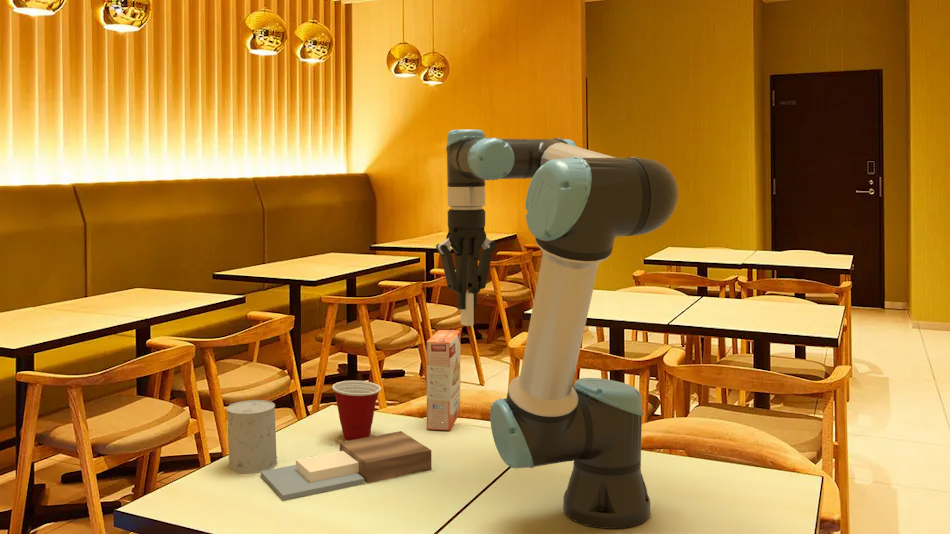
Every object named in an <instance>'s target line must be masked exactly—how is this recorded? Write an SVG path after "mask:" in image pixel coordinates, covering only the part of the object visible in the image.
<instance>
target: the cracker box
mask: <svg viewBox="0 0 950 534" xmlns="http://www.w3.org/2000/svg"><path fill="white" fill-rule="evenodd" d="M461 345H462V343H461V330H454V329H453V330H452V329H451V330H449V329H442V330H441V329H439V330H437V331H436V332H435V333H434V334H433V335H432V336H431V337H430V338H429V339H428V340H427V341H426V430H434V431H448V432H449V431H451V429H452V428H453V426H454V424H455V423H456V421H457V420H458V417H459V416H460V414H461ZM442 422H443V423H442Z"/></svg>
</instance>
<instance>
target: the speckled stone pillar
mask: <svg viewBox="0 0 950 534" xmlns="http://www.w3.org/2000/svg"><path fill="white" fill-rule="evenodd" d="M226 418H227V420H226V423H227V441H228V443H227V444H228V463H229V464H228V469H229V471H231V472H233V473H236V474H244V475H248V474H249V475H250V474H261V471H266V470H271V469H275V467H276V466H277V465H278V460H277V457H278V456H277V438H276V437H277V434H276V404H275V403H274V402H273V401H271V400H263V399H252V400H249V399H248V400H243V401H237V402H235V403H231V404H229V405H228V406H227V407H226Z"/></svg>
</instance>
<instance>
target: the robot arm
mask: <svg viewBox="0 0 950 534" xmlns="http://www.w3.org/2000/svg"><path fill="white" fill-rule="evenodd" d="M446 137H447V139H446V147H445V150H446V175H447V177H446V178H447V179H446V182H447V206H448V207H450V208H449V209H448V210H447V228H448V232H447V234H446V237H445V238H446V239H445V240H444V241H443V242H442V243H437V244H436V246H435V248H436V250H437V252H438V253H439V256H440V259H441V262H442V263H441V264H442V267H443V271H444V276H445V280H446V286H447V288H448V290H449V291H453V292H455V293H456V305H457V306H456V307H457V309H458V310H460V325H463V326H465V327H470V326H472V327H473V326H474V325H475V324H474V323H475V322H474V321H475V320H474V317H475V315H474V314H475V312H474V309H477V306H478V297H477V296H478V294H479V293H480V292H481V290H484V289H486V286H487V282H488V276H489V271H490V266H491V263H492V262H491V261H492V256H493V253H494V250H495V249H496V247H497V242H496V241H492V240H491V239H489V238H488V237H487V233H486V231H485V227H486V210H485V209H484V208H483V207H485V206H486V181H497V180H508V179H509V180H510V179H511V180H514V179H521V180H522V179H531V180H530V183H529V185H528V189H527V192H526V199H525V206H524V208H525V210H527V211H526V212H527V213H526V214H525V219H526V220H525V221H526V224H527V227H528V230H529V232H530V233H531V234H532V236H534V237H535V238H534V241H535V244H536V246H537V248H539V249H540V250H541V252H542V254H541V255H542V256H541V261H540V266H539V270H538V271H539V272H538V278H537V281H536V286H535V293H534V298H533V303H532V304H533V305H532V309H531V315H530V320H529V325H528V332H527V337H526V340H525V347H524V348H525V349H524V352H523V353H524V354H523V357H522V363H521V368H520V374H519V375H517V376H515V377H514V378H513V379H512V380H511V381H510V383H509V384H508V389H507V394H506V398H502V397H499V398H498V399H496V400H495V401H493V402H492V403H491V406H490V413H489V417H490V419H489V421H490V428H491V434H492V438H493V442H494V445H495V447H496V450H497V452H498V455H499V456H500V458H501V459H502V461H503V462H504V464H506V465H507V466H508V467H509V468H511V469H526V468H529V469H532V468H535V467H536V468H537V467H541V466H548V465H555V464H559V463H566V462H573V468H572V471H571V475H570V477H569V481H568V484H567V488H566V490H565V492H564V494H563V500H562V501H563V505H562V506H563V507H562V509H563V512H564V515H566V516H567V517H568V518H569V519H570V520H572V521H574V522H576V523H580V524H582V525H584V526H590V527H594V528H601V529H623V528H631V527H634V526H635V527H636V526H638V525H640V524H643V523H644V522H645V521H647V520H648V519H650V516H651V499H650V496H649V495H648V490H647V487H646V483H645V480H644V477H643V473H642V469H641V468H642V466H641V465H642V461H641V460H642V428H643V427H642V426H643V423H642V421H643V416H644V413H643V401H642V394H641V393H640V391H639V389H637V388H636V387H634V386H633V385H630V384H628V383H625V382H621V381H617V380H614V379H613V380H612V379H608V378H607V379H606V378H601V377H600V378H597V377H581V378H578V379H576V380H575V381H574V379H575V374H576V370H577V369H576V368H577V365H578V360H579V356H580V352H581V351H580V350H581V346H582V341H583V337H584V333H585V328H586V324H587V318H588V314H589V310H590V306H591V305H590V304H591V301H592V296H593V293H594V287H595V284H596V283H595V282H596V278H597V272H598V270H599V266H600V265H599V264H600V263H603V262H604V261H606V260H608V259H609V258H610V257H611V255H612V253H613V250H614V249H613V248H614V245H615V241H616V238H618V237H619V238H620V237H632V236H640V235H641V236H643V235H645V234H650V233H652V232H653V231H656V230H657V229H659V228H661V227H662V226H663V225H664V224H666V222H668V221H669V219H670V218H671V217H672V215H673V214H674V212H675V211H676V208H677V204H678V200H679V187H678V183H677V179H676V178H675V176H674V175H673V173H672V171H671V170H670V169H669V168H668V167H667V166H666V165H665V164H663V163H661V162H660V161H657V160H654V159H651V158H646V157H645V158H644V157H641V156H640V157H639V156H631V157H630V156H629V157H616V156H611V155H608V154H604V153H601V152H596V151H594V150H589V149H586V148H583V147H579V146H577V145H576V142H575V141H573V140H572V139H567V138H564V139H563V138H559V137H555V138H540V139H539V138H536V139H535V138H526V139H525V138H497V137H486V136H485V132H484V131H483V130H482V129H467V128H466V129H465V128H464V129H452V130H451V129H450V131H449V132H448V133H447V136H446ZM481 248H482V249H481ZM480 249H481V251H480ZM451 251H453V252H454V254H453V255H454V259H455V263H454V259H453V256H452V252H451ZM573 382H574V384H573Z"/></svg>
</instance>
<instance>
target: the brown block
mask: <svg viewBox="0 0 950 534" xmlns="http://www.w3.org/2000/svg"><path fill="white" fill-rule="evenodd" d="M338 443H339V451H344V452H346V453H347V454H348V455H350V456H351V457H352V458H354V459H355V460H356V461H358V462H359V473H358V474H359V475H361V476H362V477H363V478H364V483H366V484H368V483H373V482H377V481H379V482H380V481H383V480H389V479H392V478H396V477H401V476H403V477H404V476H407V475H411V474H417V473H420V472H426V471H430V470H432V469H433V468H432V467H433V466H432V449H430V448H428V447H427V446H425V445H424V444H423V443H420V442H419V441H418V440H416V439H414V438H413V437H411V436H410V435H408V434H406V433H405V432H403V431H400V430H399V431H394V432H389V433H384V434H378V435H373V436H372V435H370V437H366V438H360V439H355V440H349V441H347V440H345V441H340V442H338Z"/></svg>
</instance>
